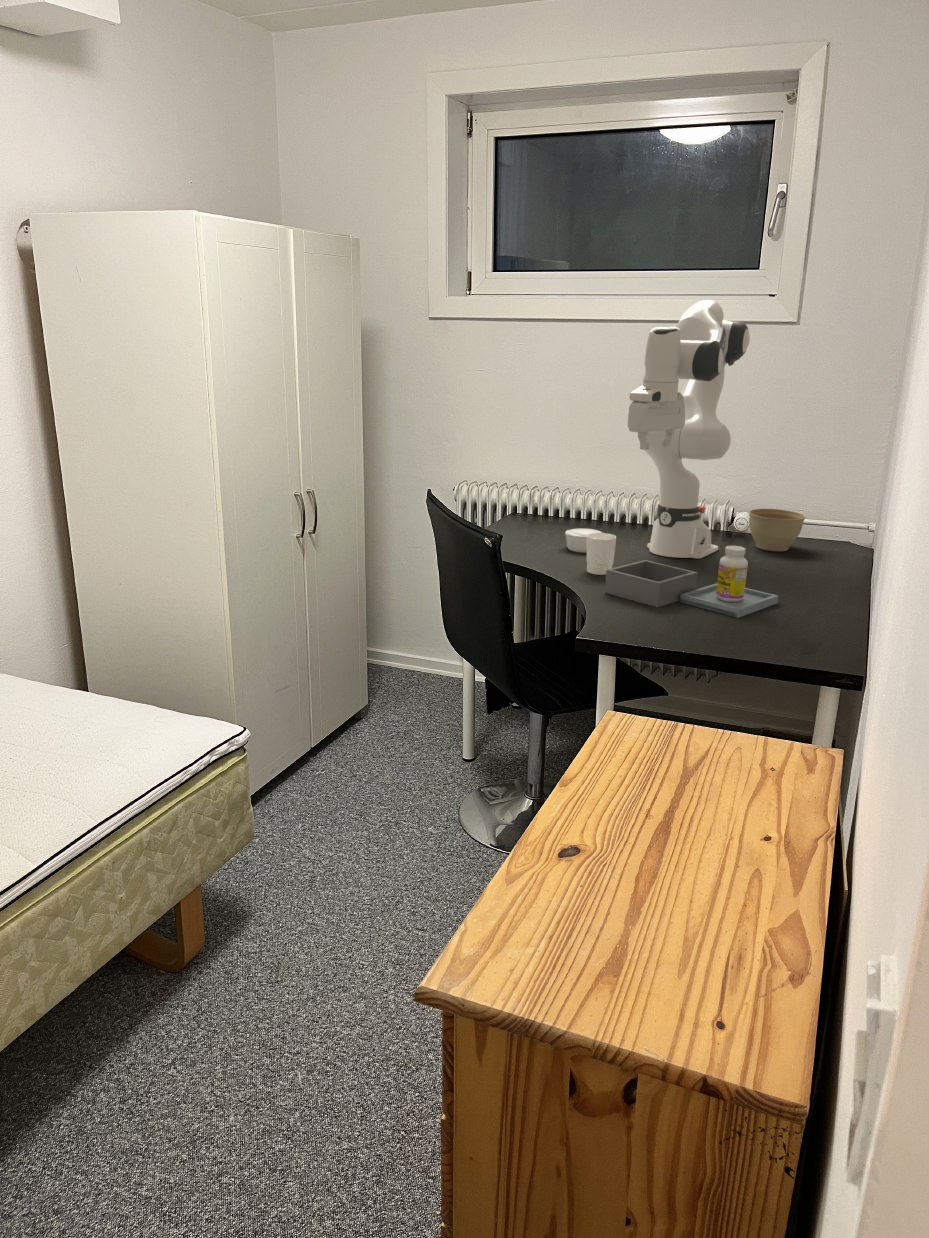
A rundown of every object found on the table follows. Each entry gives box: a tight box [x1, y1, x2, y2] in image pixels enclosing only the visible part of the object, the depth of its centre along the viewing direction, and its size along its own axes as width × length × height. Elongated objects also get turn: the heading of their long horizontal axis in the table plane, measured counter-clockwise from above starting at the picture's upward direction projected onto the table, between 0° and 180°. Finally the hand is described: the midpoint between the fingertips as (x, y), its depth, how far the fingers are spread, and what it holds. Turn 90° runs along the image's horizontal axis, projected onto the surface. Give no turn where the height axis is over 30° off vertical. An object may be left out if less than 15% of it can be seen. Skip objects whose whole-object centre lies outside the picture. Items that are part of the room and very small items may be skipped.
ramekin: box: [564, 528, 603, 554], centre depth 273 cm, size 11×11×5 cm
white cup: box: [586, 532, 617, 576], centre depth 247 cm, size 8×8×10 cm
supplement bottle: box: [716, 545, 749, 602], centre depth 221 cm, size 7×7×13 cm
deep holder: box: [604, 559, 698, 608], centre depth 228 cm, size 16×16×6 cm
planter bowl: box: [748, 508, 806, 552], centre depth 278 cm, size 16×16×11 cm
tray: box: [679, 582, 779, 619], centre depth 223 cm, size 18×16×2 cm
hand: (655, 448), depth 236 cm, fingers open, 8 cm apart
